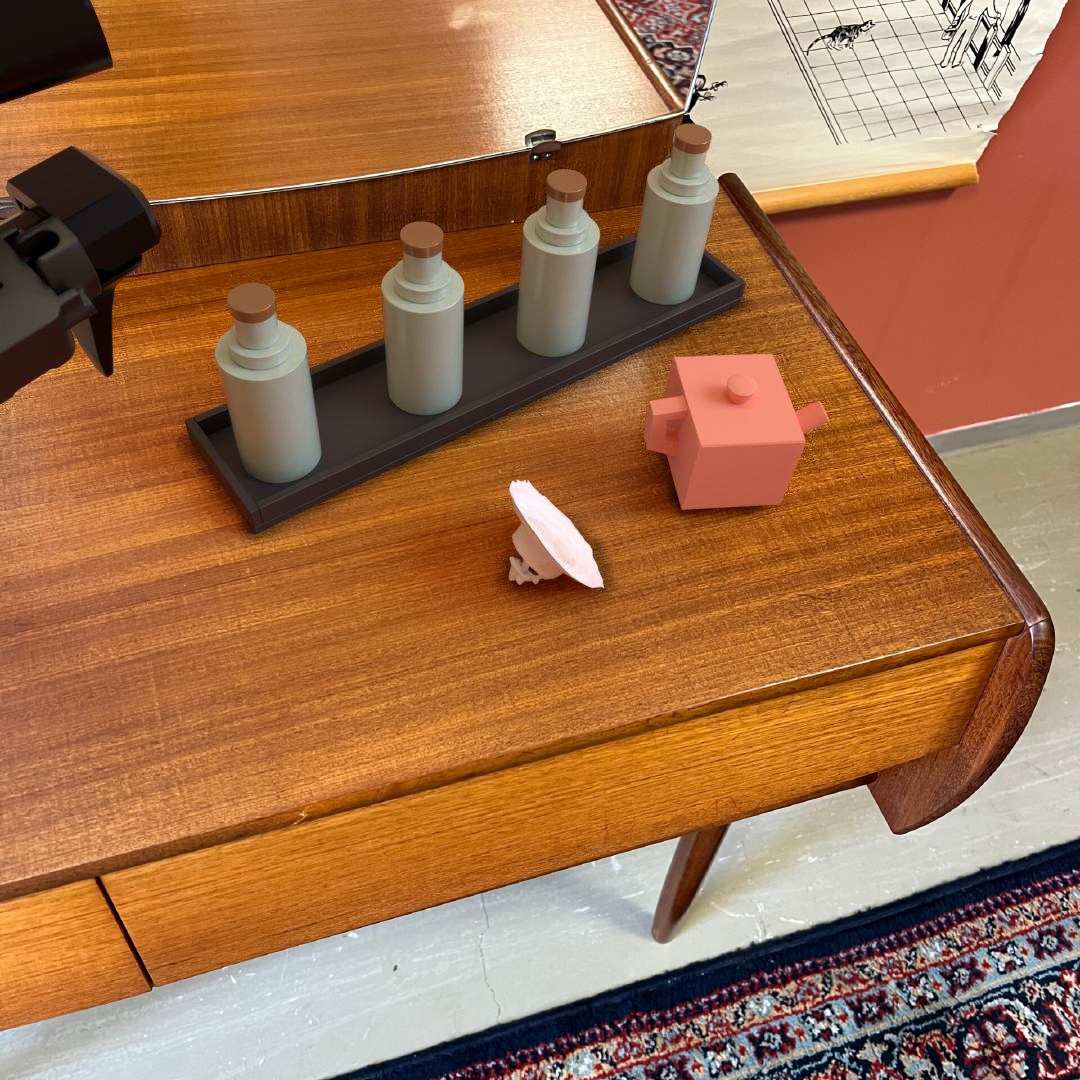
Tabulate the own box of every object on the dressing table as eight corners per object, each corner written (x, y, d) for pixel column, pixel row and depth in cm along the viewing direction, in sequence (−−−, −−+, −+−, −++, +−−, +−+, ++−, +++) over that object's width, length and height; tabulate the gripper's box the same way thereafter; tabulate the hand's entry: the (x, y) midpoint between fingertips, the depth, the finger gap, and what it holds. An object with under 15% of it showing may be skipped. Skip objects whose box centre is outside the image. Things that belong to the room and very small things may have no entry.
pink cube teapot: (823, 511, 67) (864, 425, 61) (647, 521, 66) (669, 433, 59) (790, 426, 72) (825, 337, 65) (625, 433, 70) (644, 343, 64)
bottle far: (632, 304, 78) (659, 152, 68) (626, 261, 81) (652, 110, 71) (698, 306, 78) (736, 156, 68) (690, 264, 81) (725, 114, 71)
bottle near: (385, 414, 69) (374, 259, 59) (390, 362, 72) (380, 206, 62) (461, 417, 69) (464, 263, 59) (463, 364, 72) (466, 210, 62)
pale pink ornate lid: (522, 590, 66) (470, 484, 63) (597, 558, 66) (548, 450, 63) (530, 646, 59) (472, 528, 56) (614, 610, 58) (560, 490, 55)
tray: (255, 534, 63) (250, 513, 61) (190, 442, 67) (183, 420, 65) (740, 303, 80) (746, 281, 78) (664, 241, 84) (669, 219, 82)
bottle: (256, 494, 64) (220, 339, 54) (228, 439, 66) (189, 282, 56) (334, 467, 66) (313, 312, 56) (303, 415, 68) (278, 258, 58)
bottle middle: (516, 356, 73) (527, 202, 63) (515, 309, 76) (525, 155, 66) (587, 358, 74) (610, 206, 64) (583, 311, 77) (604, 159, 67)
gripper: (-332, 398, 30) (-63, 643, 43) (175, 117, 38) (276, 398, 51) (-461, 238, 35) (-182, 504, 48) (16, 14, 42) (146, 297, 55)
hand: (27, 423), depth 50 cm, fingers open, 9 cm apart
